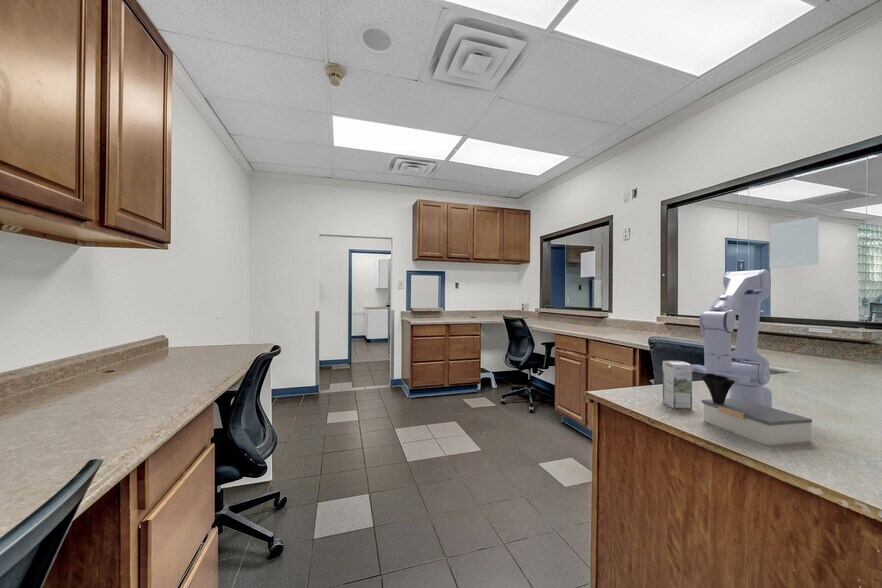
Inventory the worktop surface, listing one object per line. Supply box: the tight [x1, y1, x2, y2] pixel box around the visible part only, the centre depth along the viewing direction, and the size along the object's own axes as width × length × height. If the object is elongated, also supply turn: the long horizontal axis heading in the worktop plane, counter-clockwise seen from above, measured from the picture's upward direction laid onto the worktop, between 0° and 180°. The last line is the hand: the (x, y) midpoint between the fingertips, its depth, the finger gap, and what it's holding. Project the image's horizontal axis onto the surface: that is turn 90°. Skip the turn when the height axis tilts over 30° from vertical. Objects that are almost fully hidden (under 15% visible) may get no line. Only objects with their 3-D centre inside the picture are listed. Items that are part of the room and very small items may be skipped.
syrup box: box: [662, 360, 693, 410], centre depth 102 cm, size 6×6×14 cm
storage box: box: [703, 403, 812, 448], centre depth 83 cm, size 12×16×5 cm
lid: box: [701, 398, 813, 425], centre depth 83 cm, size 13×16×1 cm
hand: (718, 402), depth 87 cm, fingers closed
